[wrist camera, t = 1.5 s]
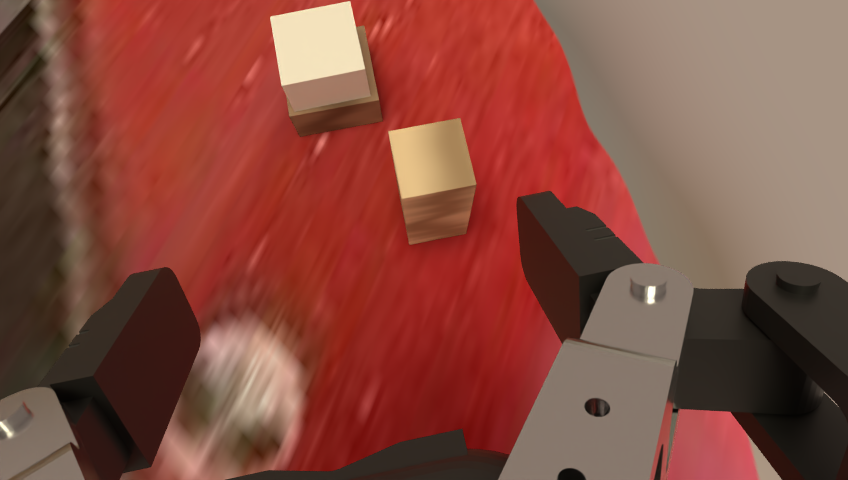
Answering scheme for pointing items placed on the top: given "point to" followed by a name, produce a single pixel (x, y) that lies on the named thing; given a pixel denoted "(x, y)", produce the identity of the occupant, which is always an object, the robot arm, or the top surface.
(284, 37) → the slab top
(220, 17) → the top surface
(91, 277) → the top surface
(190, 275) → the top surface
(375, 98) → the slab base
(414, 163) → the pillar
